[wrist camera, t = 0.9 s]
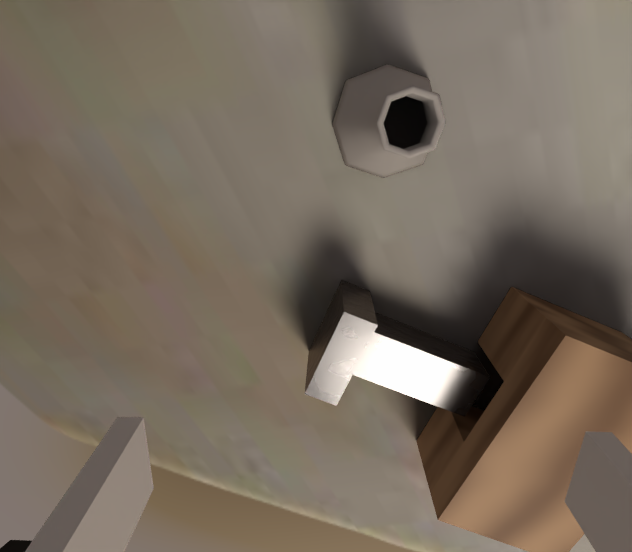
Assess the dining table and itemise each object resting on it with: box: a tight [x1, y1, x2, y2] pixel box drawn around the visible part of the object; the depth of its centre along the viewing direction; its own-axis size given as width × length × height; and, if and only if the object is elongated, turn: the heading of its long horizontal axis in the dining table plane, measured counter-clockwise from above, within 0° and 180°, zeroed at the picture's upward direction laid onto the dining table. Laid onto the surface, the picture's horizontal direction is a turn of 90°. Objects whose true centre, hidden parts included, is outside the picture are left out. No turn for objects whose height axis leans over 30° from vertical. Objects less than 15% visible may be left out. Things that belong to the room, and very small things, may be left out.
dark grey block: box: [305, 280, 490, 417], centre depth 32 cm, size 12×7×6 cm, turn 68°
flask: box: [332, 64, 446, 178], centre depth 24 cm, size 7×7×10 cm
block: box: [417, 287, 632, 552], centre depth 32 cm, size 14×16×9 cm
